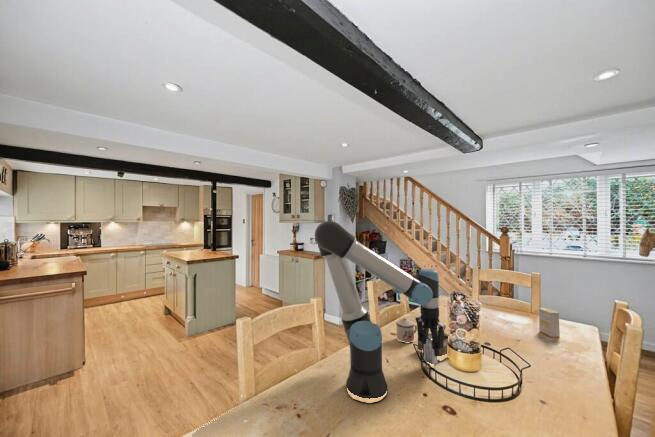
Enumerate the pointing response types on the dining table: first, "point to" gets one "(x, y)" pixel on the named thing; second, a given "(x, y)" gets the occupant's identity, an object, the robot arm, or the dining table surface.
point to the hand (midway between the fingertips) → (430, 360)
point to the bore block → (441, 351)
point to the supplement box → (549, 322)
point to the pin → (429, 349)
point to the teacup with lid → (405, 330)
